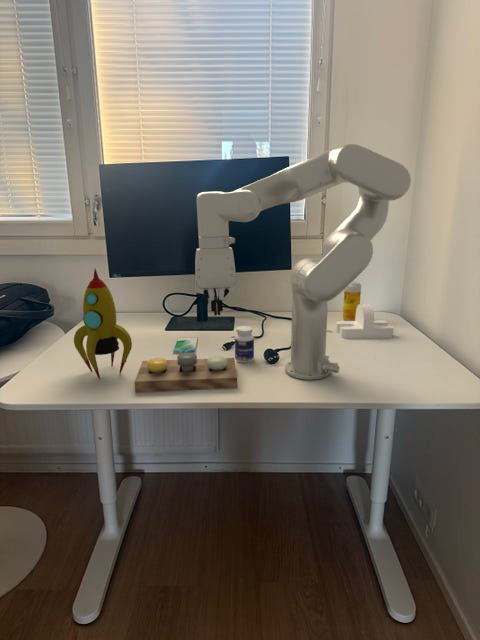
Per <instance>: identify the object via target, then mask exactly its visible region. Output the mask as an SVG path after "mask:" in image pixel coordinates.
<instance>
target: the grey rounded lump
mask: <svg viewBox="0 0 480 640" xmlns="http://www.w3.org/2000/svg"><path fill="white" fill-rule="evenodd" d="M176 356H177V357H176V358H177V359H176V360H177V362H178V365H180V366H182V372H193V365H195V364H196V363H197V359H198V355H197V354H196V353H195V354H193V353H183V354H177V355H176Z"/></svg>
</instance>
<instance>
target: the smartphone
mask: <svg viewBox="0 0 480 640" xmlns="http://www.w3.org/2000/svg"><path fill="white" fill-rule="evenodd" d="M198 343H199V338H198V337H177V339H176V342H175V345H174V348H173V351H172V354H173V355H180V354H183V353H193V354H196V353H197V349H198Z"/></svg>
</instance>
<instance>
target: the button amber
mask: <svg viewBox="0 0 480 640" xmlns="http://www.w3.org/2000/svg"><path fill="white" fill-rule="evenodd" d="M167 360H168V359H166V358H161V357H159V358H152V359H149V360H147V361H148V362H147V367H148V370H149V371H152V373H164V372H163V371H164V370H166V369H167Z"/></svg>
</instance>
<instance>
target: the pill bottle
mask: <svg viewBox="0 0 480 640" xmlns="http://www.w3.org/2000/svg"><path fill="white" fill-rule="evenodd" d="M235 332H236V333H237V334H236V335H235V336H234V359H235V362H239V363H251V362H252V361H254V359H255V336H254V335H253V334H252V333H253V327H251V326H248V325H247V326H246V325H242V326H237V327H236V331H235Z"/></svg>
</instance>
